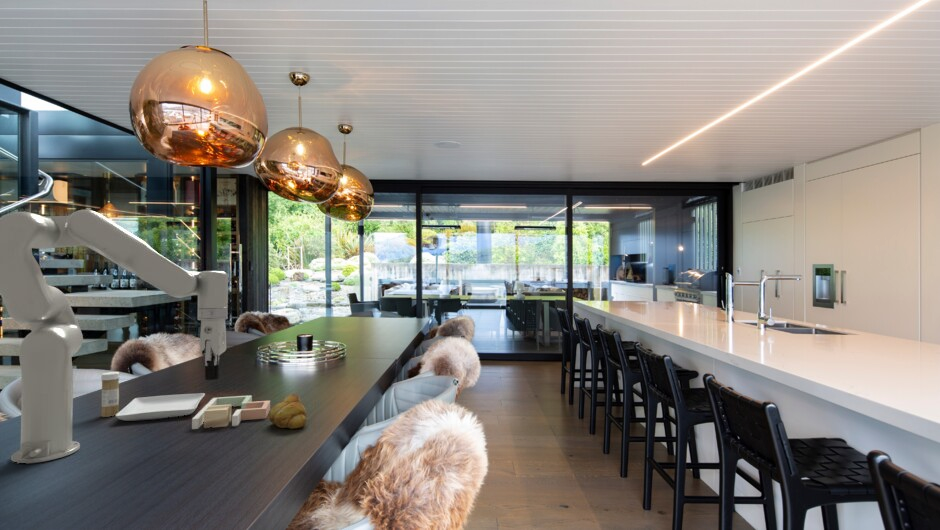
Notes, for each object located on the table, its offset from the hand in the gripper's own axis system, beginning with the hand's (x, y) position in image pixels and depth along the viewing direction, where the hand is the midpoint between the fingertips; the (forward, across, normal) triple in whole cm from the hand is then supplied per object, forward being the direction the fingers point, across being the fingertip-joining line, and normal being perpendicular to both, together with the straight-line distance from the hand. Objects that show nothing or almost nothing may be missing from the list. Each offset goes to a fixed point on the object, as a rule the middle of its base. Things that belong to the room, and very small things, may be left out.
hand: (212, 378), depth 133 cm
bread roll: (+15, +1, -20) cm, 26 cm away
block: (+15, +8, 0) cm, 17 cm away
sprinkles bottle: (+15, +27, +35) cm, 47 cm away
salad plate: (+16, +27, +20) cm, 37 cm away
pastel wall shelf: (+15, +17, -3) cm, 23 cm away
